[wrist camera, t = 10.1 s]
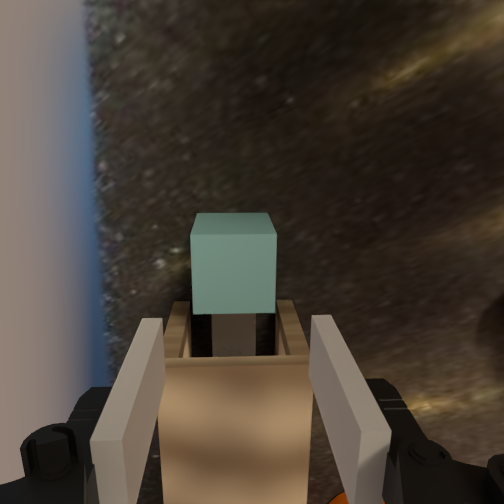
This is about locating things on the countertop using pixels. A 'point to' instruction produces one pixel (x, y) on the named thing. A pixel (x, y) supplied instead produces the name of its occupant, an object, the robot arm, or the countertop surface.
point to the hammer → (234, 335)
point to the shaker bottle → (341, 499)
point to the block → (233, 263)
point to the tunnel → (235, 418)
